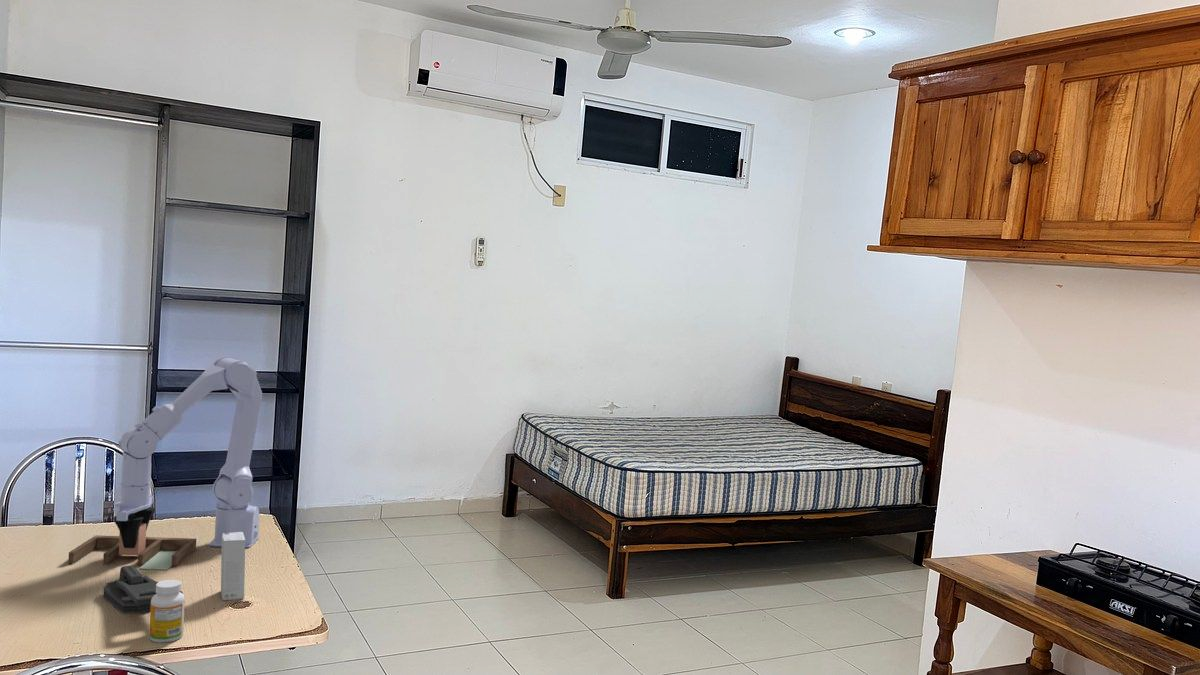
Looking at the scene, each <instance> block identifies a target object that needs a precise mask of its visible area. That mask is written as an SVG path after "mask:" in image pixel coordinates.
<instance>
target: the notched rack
mask: <svg viewBox="0 0 1200 675" xmlns="http://www.w3.org/2000/svg"><path fill="white" fill-rule="evenodd" d="M96 549H105V552H103V556H102V557H103V558H102V565H103V566H109V565H110V564H112V563H113V562H114V561H115V560H117V559H118V558H120V557H121V556H122V555H119V535H100V534H99V535H98V534H97V535H96V534H95V535H93V536H92V537H91V538H89V539H87V540H86V541H85V542H82V543H81V544H79V545H78V546H76V547H75V548H73V549H72V550H70V551H69V552H68V563H74V564H76V563H77V562H79V561H80V560H81V558H82V559H83V558H85V557H86V556H88V555H89V554H91V553H92V552H94V551H96ZM106 549H108V550H107V551H106ZM196 550H197V538H190V537H189V538H188V537H187V538H186V537H158V536H157V537H155V536H153V537H151V536H146V545H145V549H144V550H143V551H142V552H141V553H139V554H138V555H137V566H138V567H139V568H138V569H139V570H151V571H152V570H156V571H157V570H158V571H160V570H161V571H168V570H170V568H177V567H178V566H179V565H180V564H181V563H182V562H184V561H185V560H186V559H187V558H188V557H189V556H191V555H192V554H193V553H194V552H195V551H196ZM87 554H88V555H87ZM84 556H85V557H84ZM78 560H79V561H78ZM76 561H77V562H76ZM75 562H76V563H75Z"/></svg>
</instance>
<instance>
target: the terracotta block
mask: <svg viewBox="0 0 1200 675" xmlns="http://www.w3.org/2000/svg"><path fill="white" fill-rule="evenodd" d="M118 536H119V555H121V556H138V554H139V553H141V552H142V551H143V550H144V549H145V545H146V537H147V530H146V523H141V525H140V528H139V531H138V536H137V542H136V545H135V547H134V548H124V546H123V542H122V537H121V534H120V533H119V535H118Z"/></svg>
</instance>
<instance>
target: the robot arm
mask: <svg viewBox="0 0 1200 675" xmlns="http://www.w3.org/2000/svg"><path fill="white" fill-rule="evenodd" d="M257 375H258V373H257V371H256V370H255V369H254V367H253V366H251V365H250V363H248V362H247V361H243V360H238V359H234V358H232V357H230V356H222V357H220V358H218V359H217V360H215V361H214V363H213V364H211V365H209V366H207V367H206V369H205V370H204V371H203V372H202V373H201V375H200V376H198V377H197V378H196V379H195V380H194V381H193V382H192V383H191V384H190V385H189V386H188V387H187V388H186V389H184V391H183V392H181V393H180V394H179V396H177V397H176V399H175V400H173V401H172V402H171V403H163V404H161V405H159V406H158V405H155V406H154V407H153V408H152V409H151V410H152V412H151V413H150V414H149V415H148V416H147V417H146V418H144V420H142V421H141V422H137V423H136V424H134V427H135V428H132V429H128V430H127V431H125V432H124V433H123V435H122V436H121V439H120V441H118V446H119V448H120V450H121V451H122V464H121V486H120V487H121V488H120V490H121V491H120V501H117V502H115V503H114V508H118V511H116V515H115V516H114V517H113V522H114V523H115V525H116V527H117V528H118V531H119V535H120V534H121V537H122V542H123V546H124V548H134V547H135V545H136V542H137V536H138V531H139V528H140V525H141V523H146V531H147V530H148V526H149V523H150V521H151V519H152V517H153V515H154V514H155V512H156V509H155V507H151V506H152V505H153V504H154V503H153V498H154V496H153V495H151V486H152V485H151V484H152V483H151V482H152V479H151V478H152V454H154V453H155V451H156V450H157V446H158V443H159V442H161V441H162V440H163V439H164V438H165V437H166V436H167V435H169V434H170V433H171V432H172V431H174V429H176V428H177V427H178V426H180V424H181V423H182V422H183V421H182V420H183V414H185V413H186V412H187V411H189V409H191V408H192V407H193V406H194V405H196V404H197V403H199V401H201V400H202V399H203V398H205V396H207V395H208V394H209V393H211V392H213V391H220V390H228V389H229V390H230V392H231V393H232V394H233V396H235V397H236V405H235V411H234V415H233V421H232V428H231V432H230V437H229V443H228V448H227V455H226V460H225V463H224V465H223V466H222V467H221V468H219V469H220V470H219V475H218V477H217V478H216V479H215V481H214V482H213V486H212V492H213V495H214V497H215V498H217V501H216V502H215V520H214V521H215V522H214V524H215V526H214V539H212V540H211V541H210V542H209V543H208V547H222V534H223V533H233V532H243V534H244V537H245V548H251V547H252V546H253V545H254V543H256V542H257V541H258V539H260V536H259V530H260V528H259V527H260V526H259V525H260V509H259V507H258V506H256V505H255V506H253V505H251V504H250V503H251V502H252V500H253V498H254V494H255V492H254V488H253V478H254V477H253V474H252V471H251V469H250V464H251V458H252V455H253V448H254V442H255V438H256V432H257V426H258V420H259V415H260V410H261V405H262V399H263V391H262V389H261V385H260V383H259V380H258V376H257Z"/></svg>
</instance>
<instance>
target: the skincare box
mask: <svg viewBox="0 0 1200 675" xmlns="http://www.w3.org/2000/svg"><path fill="white" fill-rule="evenodd" d="M220 550H221V553H220V554H221V563H220V564H221V565H220V566H221V567H220V592H221V593H220V595H221V600H222V601H235V600H236V601H237V600H244V598H245V577H246V576H245V573H246V566H245V565H246V547H245V537H244V534H243V532H233V533H223V534H222V546H221V549H220Z"/></svg>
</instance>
